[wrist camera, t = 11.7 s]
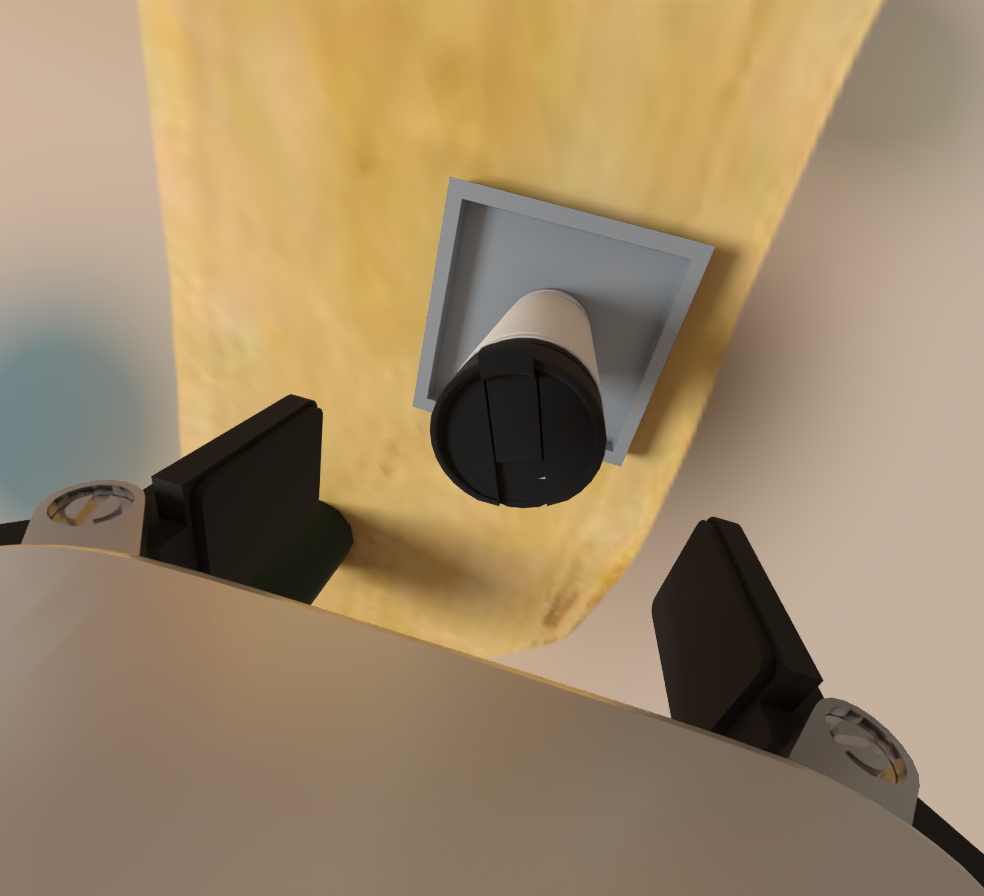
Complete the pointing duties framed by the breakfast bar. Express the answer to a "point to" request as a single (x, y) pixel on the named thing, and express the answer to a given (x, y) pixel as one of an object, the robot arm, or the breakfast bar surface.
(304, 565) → the wine bottle
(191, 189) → the breakfast bar surface
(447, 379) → the tray
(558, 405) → the travel mug
